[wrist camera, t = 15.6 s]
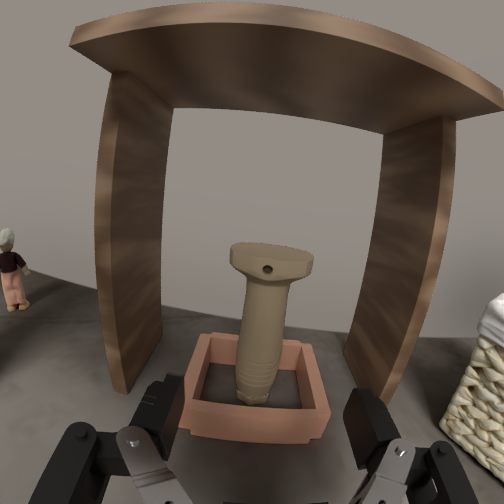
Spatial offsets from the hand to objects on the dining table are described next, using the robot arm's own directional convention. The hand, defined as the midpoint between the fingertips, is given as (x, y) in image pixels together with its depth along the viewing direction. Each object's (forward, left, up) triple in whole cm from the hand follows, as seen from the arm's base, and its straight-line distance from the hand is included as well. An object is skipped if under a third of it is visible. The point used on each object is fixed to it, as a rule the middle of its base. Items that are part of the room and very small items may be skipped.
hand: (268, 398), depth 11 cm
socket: (0, +11, -11) cm, 16 cm away
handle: (0, +11, -11) cm, 16 cm away
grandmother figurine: (-38, +17, -11) cm, 43 cm away
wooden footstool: (0, +11, -11) cm, 16 cm away
